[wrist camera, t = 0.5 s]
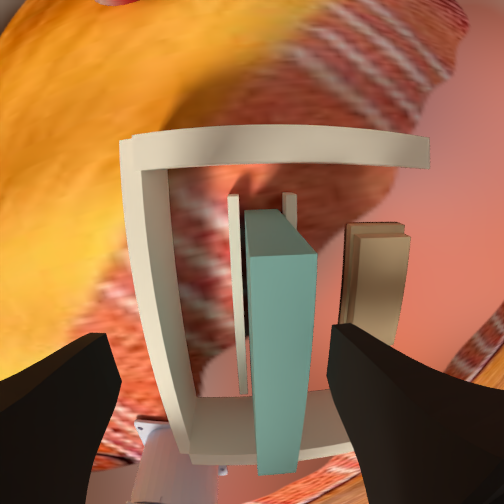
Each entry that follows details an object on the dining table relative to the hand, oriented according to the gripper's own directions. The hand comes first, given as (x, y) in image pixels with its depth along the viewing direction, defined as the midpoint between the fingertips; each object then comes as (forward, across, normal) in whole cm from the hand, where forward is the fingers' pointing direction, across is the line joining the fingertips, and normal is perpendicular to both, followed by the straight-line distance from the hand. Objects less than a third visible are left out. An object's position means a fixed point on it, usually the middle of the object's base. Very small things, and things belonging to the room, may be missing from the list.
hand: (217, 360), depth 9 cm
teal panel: (+10, -2, +3) cm, 11 cm away
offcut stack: (+11, -10, +3) cm, 15 cm away
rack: (+10, -2, +3) cm, 11 cm away
